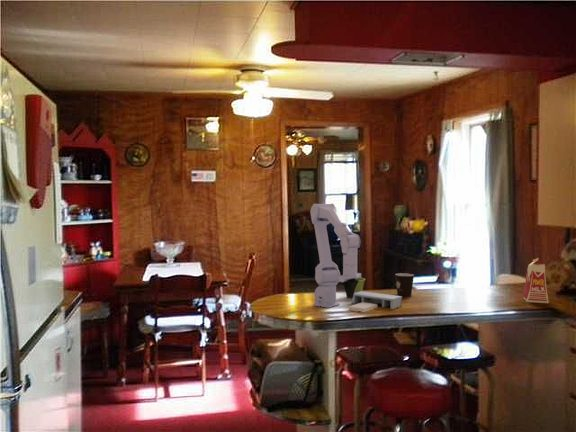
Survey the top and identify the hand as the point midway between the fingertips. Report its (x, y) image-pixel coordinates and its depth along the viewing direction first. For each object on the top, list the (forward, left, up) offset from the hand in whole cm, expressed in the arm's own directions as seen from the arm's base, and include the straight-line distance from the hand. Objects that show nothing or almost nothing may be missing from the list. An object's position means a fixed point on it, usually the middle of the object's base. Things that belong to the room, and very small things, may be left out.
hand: (349, 297), depth 231 cm
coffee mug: (+51, +1, -7) cm, 51 cm away
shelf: (+23, 0, -6) cm, 23 cm away
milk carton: (+77, -52, -7) cm, 93 cm away
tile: (+11, 0, -7) cm, 13 cm away
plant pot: (+31, +16, -7) cm, 36 cm away
